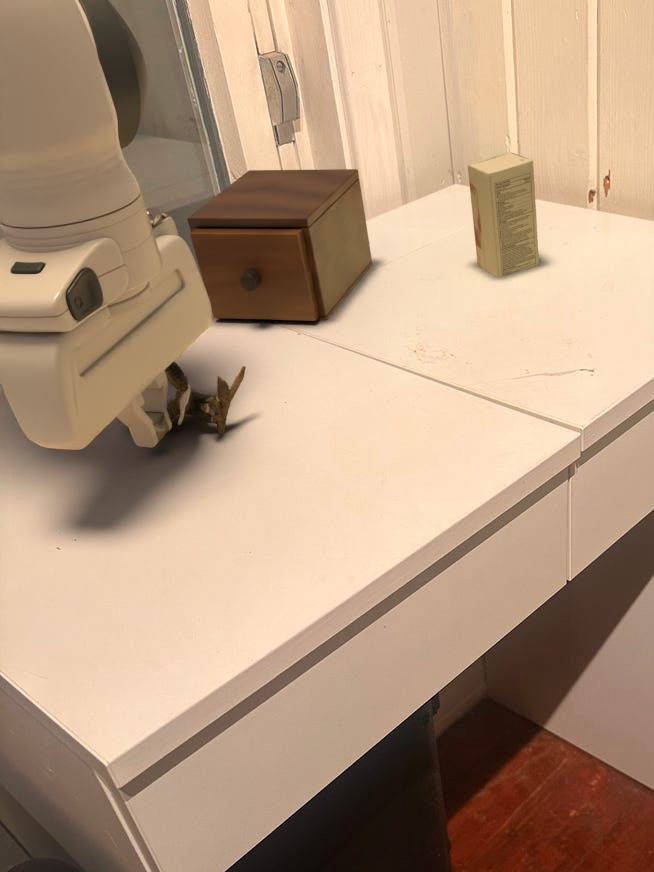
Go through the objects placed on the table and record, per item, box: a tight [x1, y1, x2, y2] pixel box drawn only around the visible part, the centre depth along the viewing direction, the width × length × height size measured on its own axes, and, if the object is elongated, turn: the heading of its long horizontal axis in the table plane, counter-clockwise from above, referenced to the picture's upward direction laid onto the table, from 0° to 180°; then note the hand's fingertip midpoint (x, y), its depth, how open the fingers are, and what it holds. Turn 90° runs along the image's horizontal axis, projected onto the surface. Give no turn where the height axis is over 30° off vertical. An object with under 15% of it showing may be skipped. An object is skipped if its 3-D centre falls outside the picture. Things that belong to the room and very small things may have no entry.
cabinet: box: [186, 168, 373, 321], centre depth 88 cm, size 14×12×10 cm
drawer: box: [189, 227, 319, 322], centre depth 86 cm, size 14×10×8 cm
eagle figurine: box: [165, 361, 247, 436], centre depth 71 cm, size 8×7×9 cm
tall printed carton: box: [467, 151, 540, 278], centre depth 88 cm, size 5×4×10 cm
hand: (155, 438), depth 69 cm, fingers closed
